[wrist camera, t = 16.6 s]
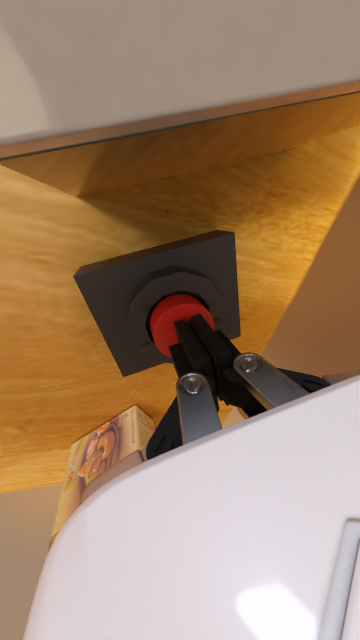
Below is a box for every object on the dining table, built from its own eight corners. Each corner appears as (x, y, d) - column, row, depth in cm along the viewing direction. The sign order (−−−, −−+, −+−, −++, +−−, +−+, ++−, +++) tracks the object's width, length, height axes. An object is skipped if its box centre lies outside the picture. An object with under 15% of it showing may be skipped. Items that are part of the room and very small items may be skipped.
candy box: (94, 456, 25) (67, 731, 11) (68, 443, 22) (-3, 765, 9) (154, 418, 24) (196, 655, 11) (134, 401, 22) (156, 671, 9)
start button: (158, 351, 15) (162, 366, 13) (142, 303, 13) (145, 315, 11) (207, 334, 15) (217, 347, 14) (200, 286, 13) (210, 295, 12)
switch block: (122, 357, 19) (123, 393, 15) (80, 266, 15) (66, 285, 11) (227, 322, 21) (252, 347, 17) (217, 229, 16) (249, 234, 12)
